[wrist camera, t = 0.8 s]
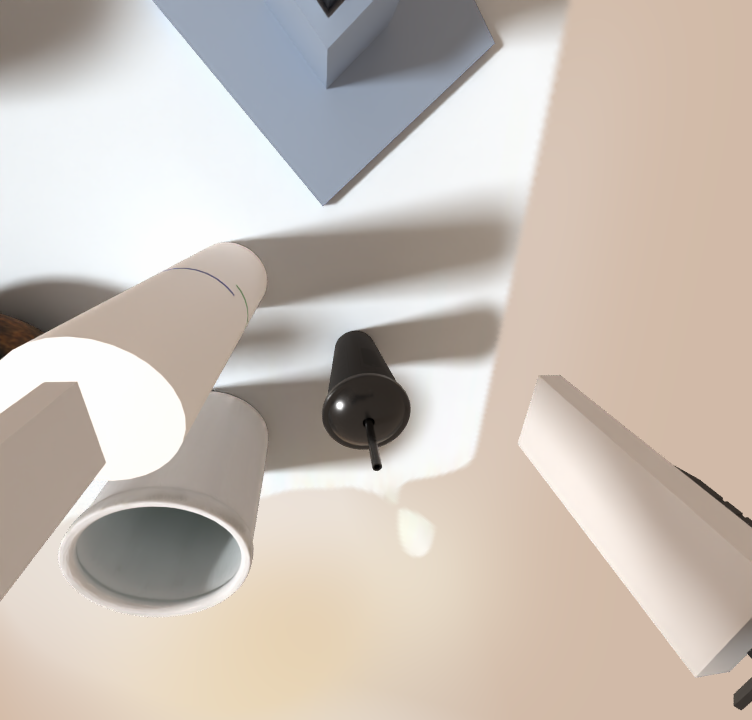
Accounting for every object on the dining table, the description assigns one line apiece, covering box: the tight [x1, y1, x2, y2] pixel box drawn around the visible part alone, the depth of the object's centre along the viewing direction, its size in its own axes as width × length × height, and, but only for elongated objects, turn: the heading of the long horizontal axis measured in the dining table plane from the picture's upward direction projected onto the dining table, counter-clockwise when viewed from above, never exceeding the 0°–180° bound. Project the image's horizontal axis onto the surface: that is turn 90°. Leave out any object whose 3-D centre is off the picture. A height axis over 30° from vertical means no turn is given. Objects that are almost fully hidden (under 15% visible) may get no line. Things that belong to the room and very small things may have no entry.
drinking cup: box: [322, 331, 410, 471], centre depth 33 cm, size 8×8×20 cm
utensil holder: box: [58, 391, 268, 617], centre depth 37 cm, size 15×15×18 cm
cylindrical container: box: [0, 242, 267, 481], centre depth 26 cm, size 7×7×25 cm
